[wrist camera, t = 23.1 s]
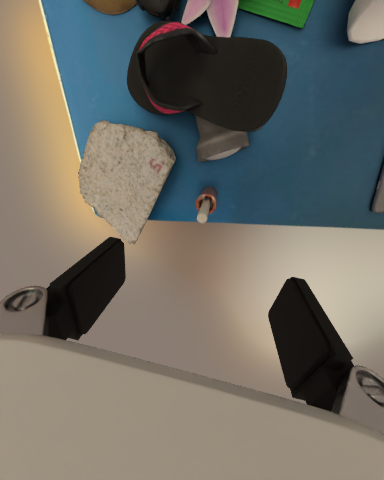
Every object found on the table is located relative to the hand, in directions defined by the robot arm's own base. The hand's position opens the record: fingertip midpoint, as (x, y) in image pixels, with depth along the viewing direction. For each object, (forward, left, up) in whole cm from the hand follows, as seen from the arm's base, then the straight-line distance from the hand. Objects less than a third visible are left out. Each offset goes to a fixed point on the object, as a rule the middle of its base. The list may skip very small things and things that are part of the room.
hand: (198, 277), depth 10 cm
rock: (0, -17, -28) cm, 33 cm away
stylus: (+2, -1, -27) cm, 27 cm away
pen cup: (+2, -1, -28) cm, 27 cm away
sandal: (-14, -6, -22) cm, 26 cm away
